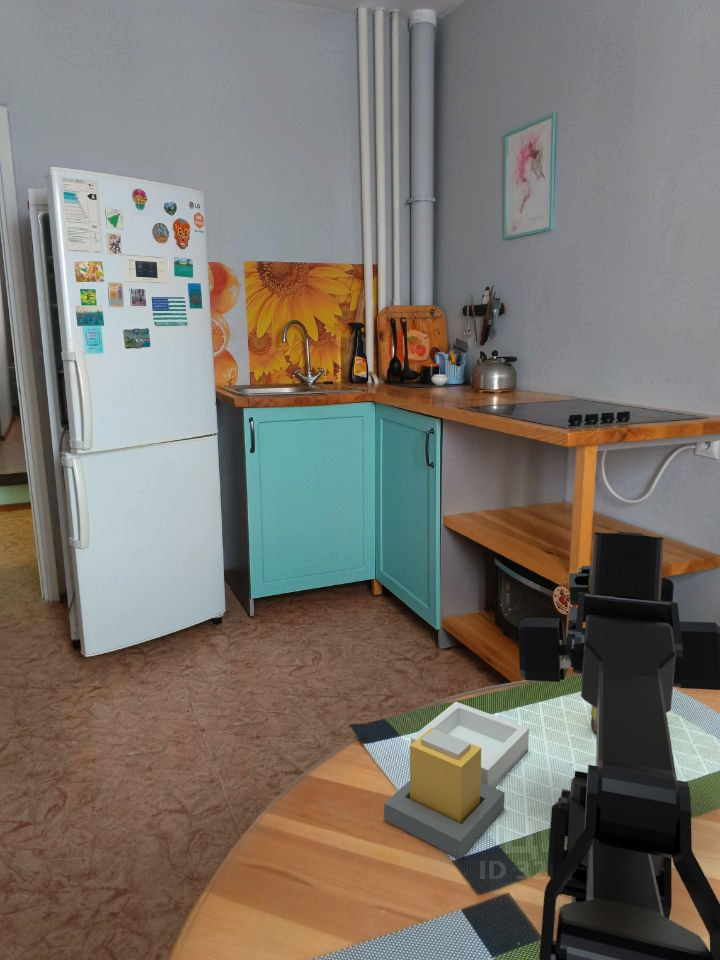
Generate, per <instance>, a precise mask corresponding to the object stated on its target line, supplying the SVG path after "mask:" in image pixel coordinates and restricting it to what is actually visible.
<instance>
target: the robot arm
mask: <svg viewBox="0 0 720 960" xmlns="http://www.w3.org/2000/svg"><path fill="white" fill-rule="evenodd" d="M592 545H593V546H592V558H591V559H592V560H591V565H581V567H578V572H570V573H569V574H568V586H569V587H568V589H569V590H568V591H569V604H570V605H571V606H569V612H568V613H569V614H568V625H567V633H566V631H565V626H564V620H563V619H560V618H556V617H555V618H554V617H550V618H549V617H523V618H522V619H521V621H519V623H518V653H519V654H518V656H519V658H518V660H519V665H518V666H519V668H518V669H519V674H520V676H521V677H522V678H523V679H524V680H525V681H531V682H553V683H561V681H564V680H565V678H566V675H567V674H568V670H569V669H572V674H575V675H576V674H577V675H581V689H580V697H581V698H582V700H584V702H585V701H586V703H588V704H589V705H591V707H592V706H594V707H595V708H596V709H597V733H596V743H595V744H596V746H595V747H596V749H595V756H596V757H595V765H592V764H588V765H587V772H582V771H577V770H574V775H573V777H572V778H571V780H570V781H571V782H570V790H568V789H563V788H562V789H561V794H560V795H561V796H558V800H557V802H555V803H554V804H553V805H551V815H550V826H549V827H550V828H549V829H550V830H549V840H548V853H547V855H548V857H547V871H546V874H547V876H548V877H549V878H550V879H549V880H548V882H547V884H546V887H545V890H544V895H543V905H542V906H543V907H542V908H543V909H542V918H541V919H542V921H541V931H540V932H541V934H540V946H539V959H538V960H720V901H719V899H718V898H717V896H716V893H715V891H714V890H713V888H712V886H711V884H710V883H709V881H708V879H707V877H706V875H705V873H704V871H703V869H702V867H701V865H700V864H699V862H698V860H697V857H696V856H695V854H694V852H693V845H692V841H693V839H692V802H691V801H692V799H691V791H690V790H691V789H690V784H689V782H688V781H685V780H678V776H677V772H676V766H675V760H674V753H673V747H672V741H671V736H670V735H671V734H670V728H669V727H670V726H669V722H668V717H667V716H668V715H667V713H668V712H670V711H671V710H672V703H673V702H672V701H673V700H672V699H673V689H674V688H679V689H689V690H710V691H720V626H719V625H718V624H717V623H716V622H714V621H713V622H710V621H681V620H680V612H679V606H678V605H679V604H678V602H677V601H666V600H665V601H664V600H662V599H661V598H662V579H663V578H662V577H663V559H664V558H663V556H664V537H661V536H659V537H658V536H651V535H643V533H642V532H641V533H639V532H628V531H618V532H598V531H597V532H593V543H592ZM575 606H577V607H575ZM584 625H585V626H584ZM566 634H567V635H566ZM566 839H567V840H566ZM565 847H566V848H565ZM672 863H673V865H674V868H675V869H676V872H677V874H678V875H679V878H680V880H681V882H682V884H683V885H684V887H685V890H686V892H687V893H688V895H689V897H690V899H691V901H692V904H693V905H694V907H695V909H696V911H697V913H698V915H699V917H700V919H701V921H702V922H703V925H704V926H705V929H706V930H707V933H708V936H709V948H708V946H707V944H706V943H705V941H704V939H702V937H701V936H700V935H698V934H696V933H695V932H693V931H691V930H690V929H687V928H686V927H684V926H682V925H680V924H678V923H676V922H675V921H673V920H671V919H670V916H671V911H672V901H673V900H672V887H673V886H672ZM562 895H565V896H568V897H571V901H570V903H564V904H563V905H561V906H560V907H559V910H558V917H557V928H556V939H555V940H554V935H555V934H554V933H555V920H556V906H557V898H558V897H559V896H562Z"/></svg>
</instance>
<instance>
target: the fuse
mask: <svg viewBox="0 0 720 960" xmlns="http://www.w3.org/2000/svg"><path fill="white" fill-rule="evenodd" d="M409 781H410V800H412V801H414V802H416V803H418V804H421V805H423V806H425V807H427V808H429V809H431V810H433V811H435V812H437V813H439V814H441V815H443V816H445V817H447V818H450V819H452V820H454V821H456V822H458V823H460V824H462V823H463V822H464V821H465V820H466V819H467V818H468V817H469V816H470V815H471V814H472V813H473V812H474V810H475V809H476V808H477V807H478V806H479V805H480V784H481V747H478V746H476V745H473V744H471V743H468V742H466V741H463V740H461V739H458V738H456V737H453V736H451V735H448V734H446V733H443V732H441V731H438V730H436V729H433V728H430V729H429V730H428V731H427V732H426V733H424V734H423V735H422V736H421V737H420V738H418V739H417V740H416V741H415V742H413V743H412V744H411V743H410V745H409Z"/></svg>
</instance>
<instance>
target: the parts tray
mask: <svg viewBox="0 0 720 960" xmlns="http://www.w3.org/2000/svg"><path fill="white" fill-rule="evenodd" d="M430 728H433V729H436V730H438V731H441V732H443V733H446V734H448V735H451V736H453V737H456V738H458V739H461V740H463V741H466V742H468V743H471V744H473V745H476V746H478V747H481V782H482V783H484V784H487V785H489V786H491V787H493V788H496V786H497V785H498V784H499V783H500V782H501V781H502V780H503V779H504V777H505V776H506V775H507V774H508V773H509V772H510V771H511V770H512V769H513V768H514V767H515V766H516V764H517V763H518V762H519V761H521V759H522V758H523V757H524V756H525V755H526V754H527V753H528V752H527V751H529V743H530V742H529V737H530V728H529V727H526V726H524V725H521V724H518V723H517V722H516V723H515V722H513V721H511V720H508V719H505V718H502V717H500V716H496V715H494V714H491V713H488V712H486V711H483V710H480V709H478V708H474V707H472V706H469V705H466V704H464V703H461V702H458V701H455V702H454V703H452V704H451V705H450V706H449V707H447V708H446V709H445V710H444V711H442V712H441V713H440V714H438V715H437V716H436V717H435V718H434V719H432V720H431V721H430V722H428V723H427V724H426V725H425V726H423V728H421V729H420V730H419V731H417V732H416V733H415V734H413V736H411V737H410V745H411V744H412V743H413V742H415V741H416V740H417V739H418V738H420V737H421V736H422V735H423V734H424V733H426V732H427V731H428V730H429V729H430ZM526 752H527V753H526ZM525 753H526V754H525Z"/></svg>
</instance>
